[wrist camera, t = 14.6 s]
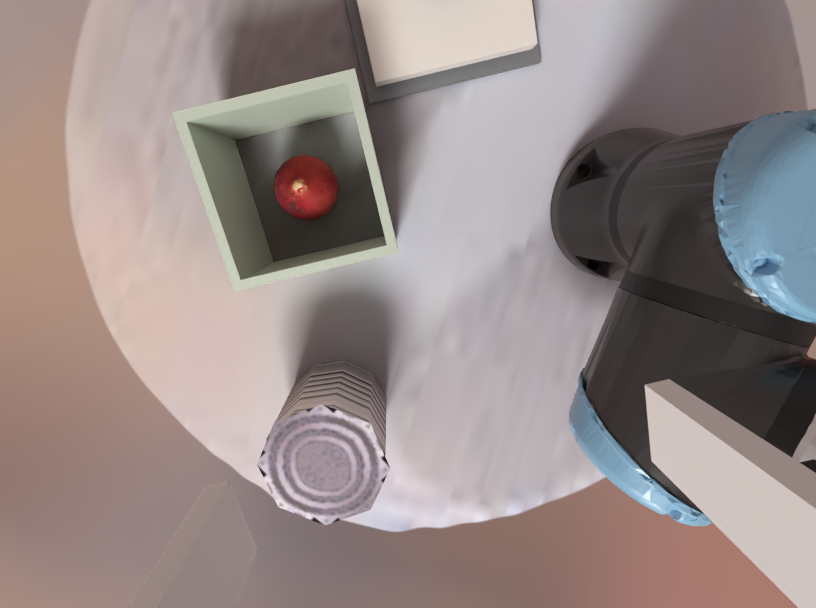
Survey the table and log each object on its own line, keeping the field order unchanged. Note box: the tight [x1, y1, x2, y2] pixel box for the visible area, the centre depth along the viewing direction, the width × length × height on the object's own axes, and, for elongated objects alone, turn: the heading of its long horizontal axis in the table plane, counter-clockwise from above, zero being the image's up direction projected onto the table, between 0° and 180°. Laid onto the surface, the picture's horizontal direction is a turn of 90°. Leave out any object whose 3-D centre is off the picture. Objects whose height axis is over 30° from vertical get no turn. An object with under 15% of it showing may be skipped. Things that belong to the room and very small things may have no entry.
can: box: [257, 360, 390, 525], centre depth 42 cm, size 11×11×12 cm
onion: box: [274, 155, 339, 221], centre depth 38 cm, size 6×6×8 cm
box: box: [172, 68, 398, 291], centre depth 37 cm, size 14×14×10 cm
